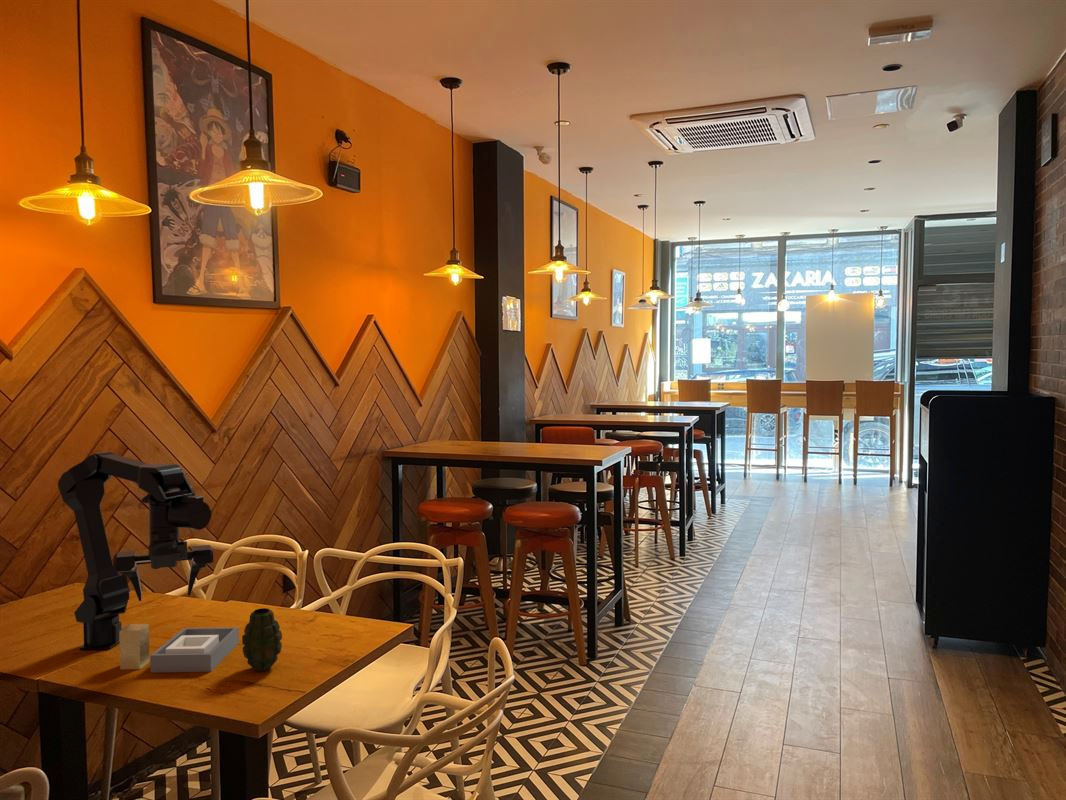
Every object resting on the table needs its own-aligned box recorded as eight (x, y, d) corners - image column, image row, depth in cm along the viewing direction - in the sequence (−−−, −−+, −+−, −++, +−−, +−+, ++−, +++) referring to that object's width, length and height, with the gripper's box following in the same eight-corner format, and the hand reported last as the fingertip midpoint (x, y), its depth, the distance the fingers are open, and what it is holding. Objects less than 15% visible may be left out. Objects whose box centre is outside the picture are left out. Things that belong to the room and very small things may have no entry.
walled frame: (150, 672, 151) (150, 653, 151) (184, 643, 167) (184, 625, 167) (211, 671, 152) (210, 652, 151) (239, 642, 167) (238, 625, 167)
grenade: (251, 661, 157) (250, 604, 156) (288, 661, 157) (287, 604, 156) (235, 676, 149) (234, 616, 149) (274, 676, 149) (273, 617, 148)
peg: (120, 669, 153) (119, 630, 152) (130, 661, 157) (129, 624, 156) (140, 669, 153) (139, 630, 153) (149, 661, 157) (148, 623, 157)
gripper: (110, 537, 146) (111, 615, 147) (214, 529, 154) (214, 603, 155) (114, 525, 156) (115, 599, 157) (211, 518, 164) (212, 588, 165)
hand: (165, 598), depth 158 cm, fingers open, 9 cm apart
